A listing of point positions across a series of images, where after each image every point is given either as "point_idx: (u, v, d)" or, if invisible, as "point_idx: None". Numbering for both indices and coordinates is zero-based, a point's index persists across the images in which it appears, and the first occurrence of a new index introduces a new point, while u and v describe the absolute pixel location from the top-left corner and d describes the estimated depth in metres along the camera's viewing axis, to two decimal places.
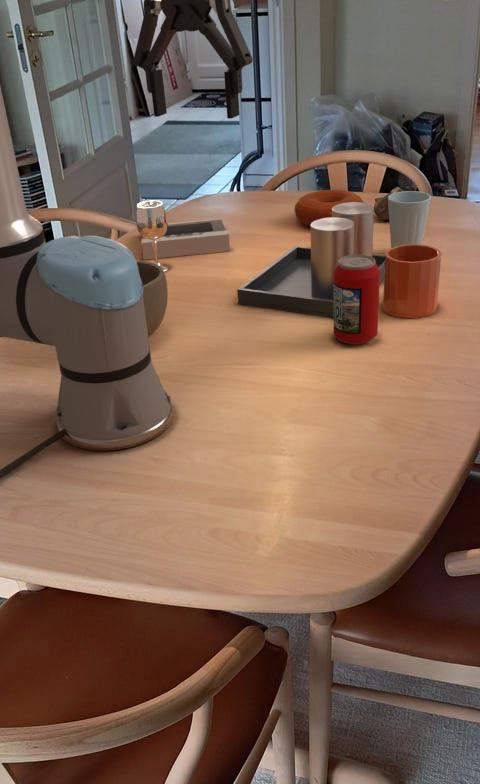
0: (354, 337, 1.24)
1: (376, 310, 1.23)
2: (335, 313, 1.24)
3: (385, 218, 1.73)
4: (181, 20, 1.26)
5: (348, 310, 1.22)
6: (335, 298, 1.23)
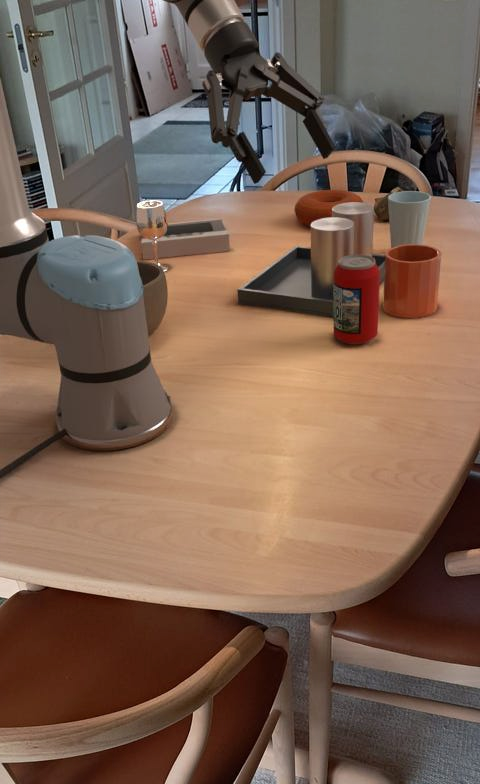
0: (354, 337, 1.24)
1: (376, 310, 1.23)
2: (335, 313, 1.24)
3: (385, 218, 1.73)
4: (251, 80, 1.20)
5: (348, 310, 1.22)
6: (335, 298, 1.23)
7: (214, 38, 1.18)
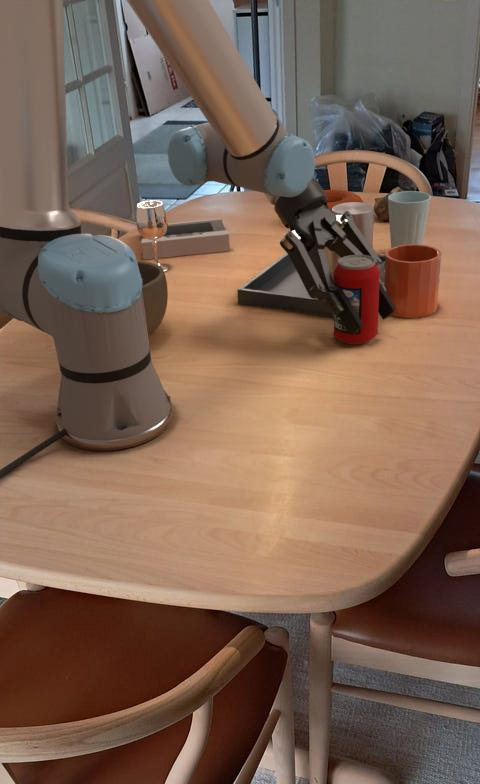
0: (354, 337, 1.24)
1: (376, 310, 1.23)
2: None
3: (385, 218, 1.73)
4: (322, 232, 1.23)
5: None
6: None
7: None
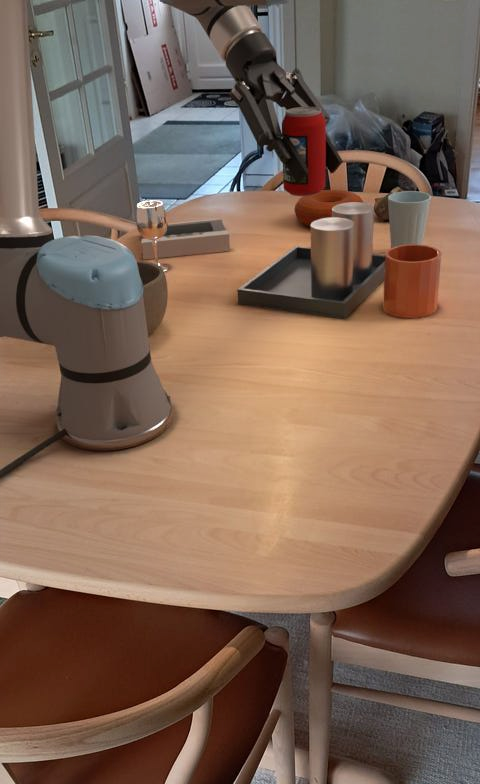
0: (302, 187, 1.29)
1: (323, 161, 1.29)
2: (284, 165, 1.30)
3: (385, 218, 1.73)
4: (271, 85, 1.28)
5: None
6: None
7: (236, 46, 1.26)
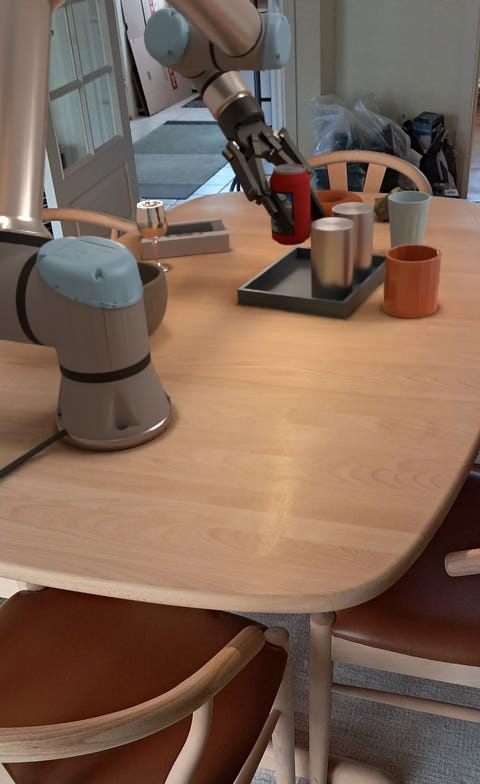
0: (288, 238, 1.40)
1: (307, 213, 1.39)
2: (272, 217, 1.40)
3: (385, 218, 1.73)
4: (259, 144, 1.39)
5: None
6: None
7: (227, 109, 1.37)
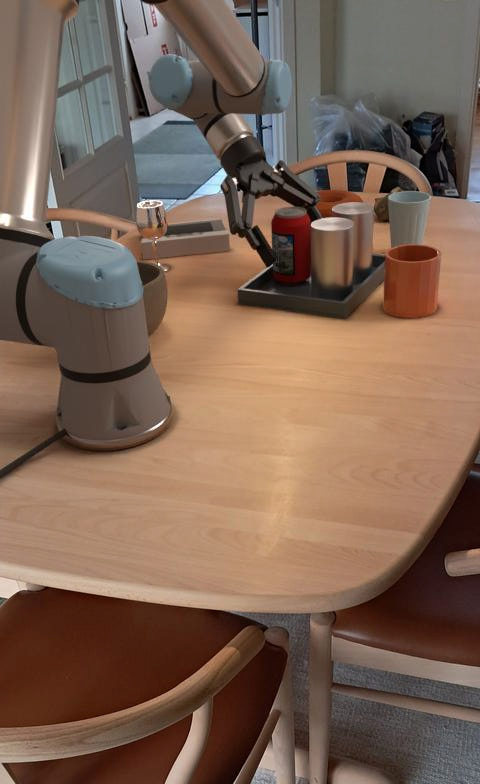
0: (290, 278, 1.44)
1: (308, 254, 1.43)
2: None
3: (385, 218, 1.73)
4: (261, 183, 1.42)
5: (283, 254, 1.42)
6: (273, 244, 1.43)
7: (230, 149, 1.40)
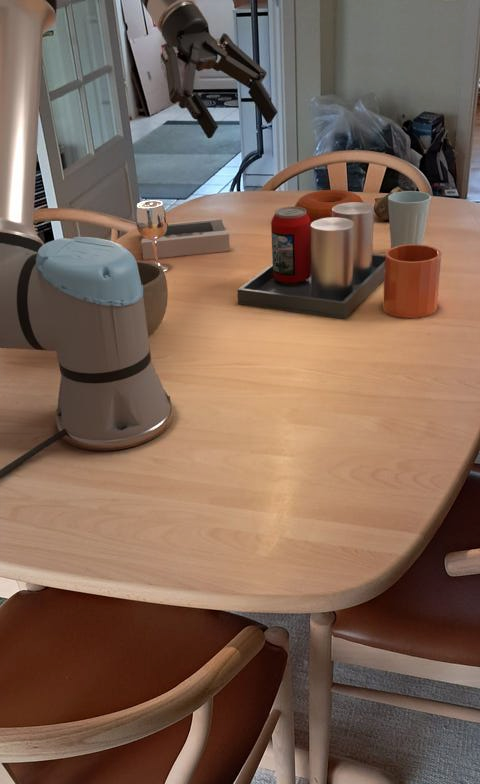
0: (290, 278, 1.44)
1: (308, 254, 1.43)
2: (273, 257, 1.44)
3: (385, 218, 1.73)
4: (203, 53, 1.39)
5: (283, 254, 1.42)
6: (273, 244, 1.43)
7: (170, 17, 1.37)
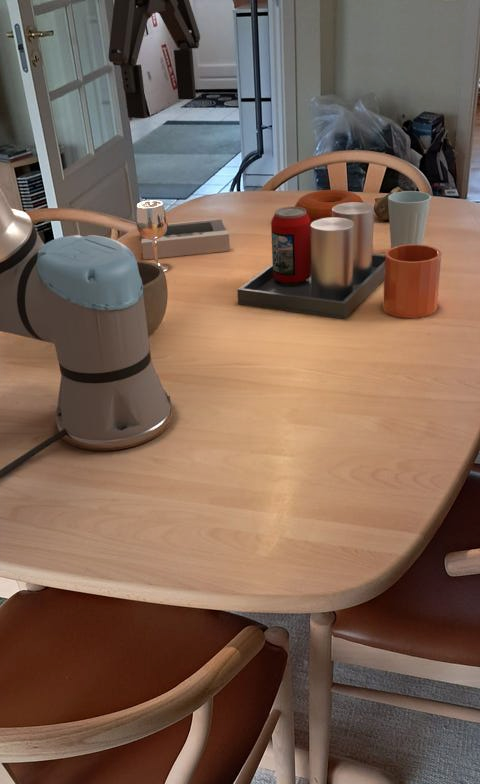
0: (290, 278, 1.44)
1: (308, 254, 1.43)
2: (273, 257, 1.44)
3: (385, 218, 1.73)
4: None
5: (283, 254, 1.42)
6: (273, 244, 1.43)
7: None
